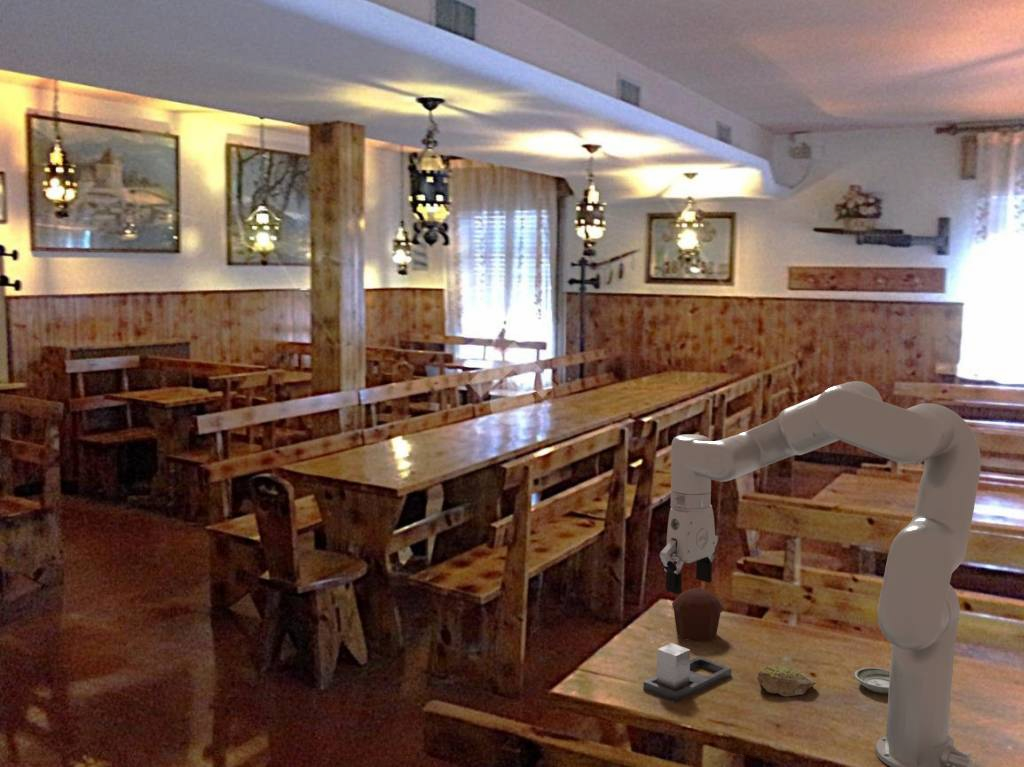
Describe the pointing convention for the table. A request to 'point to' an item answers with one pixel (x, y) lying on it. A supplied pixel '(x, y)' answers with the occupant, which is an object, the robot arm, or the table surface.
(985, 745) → the table surface
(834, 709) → the table surface
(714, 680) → the dark grey slotted tray
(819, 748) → the table surface
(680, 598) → the muffin
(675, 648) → the silver rectangular block
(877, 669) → the saucer
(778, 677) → the rock
